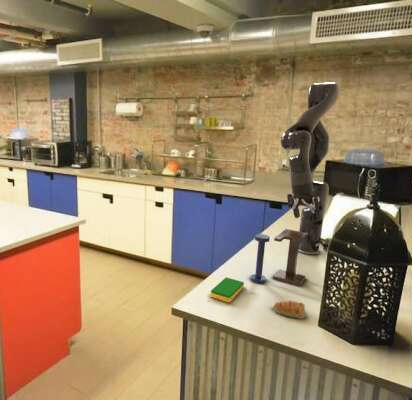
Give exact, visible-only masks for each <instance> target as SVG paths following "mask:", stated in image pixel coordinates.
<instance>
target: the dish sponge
mask: <svg viewBox="0 0 412 400" xmlns="http://www.w3.org/2000/svg"><path fill="white" fill-rule="evenodd" d="M244 288H245V282H244V281H242V280H237V279H233V278H230V277H224V278H223V279H222V280H221V281H220V282H218V283H217V284H216V285H215V286H214V287H213V288H212V289H211V290H210V297H211V298H214V299H217V300H220V301H223V302H226V303H231V302H232V301H233V300H234V299H235V297H237V295H239V293H240V292H241V291H242V290H244Z"/></svg>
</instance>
